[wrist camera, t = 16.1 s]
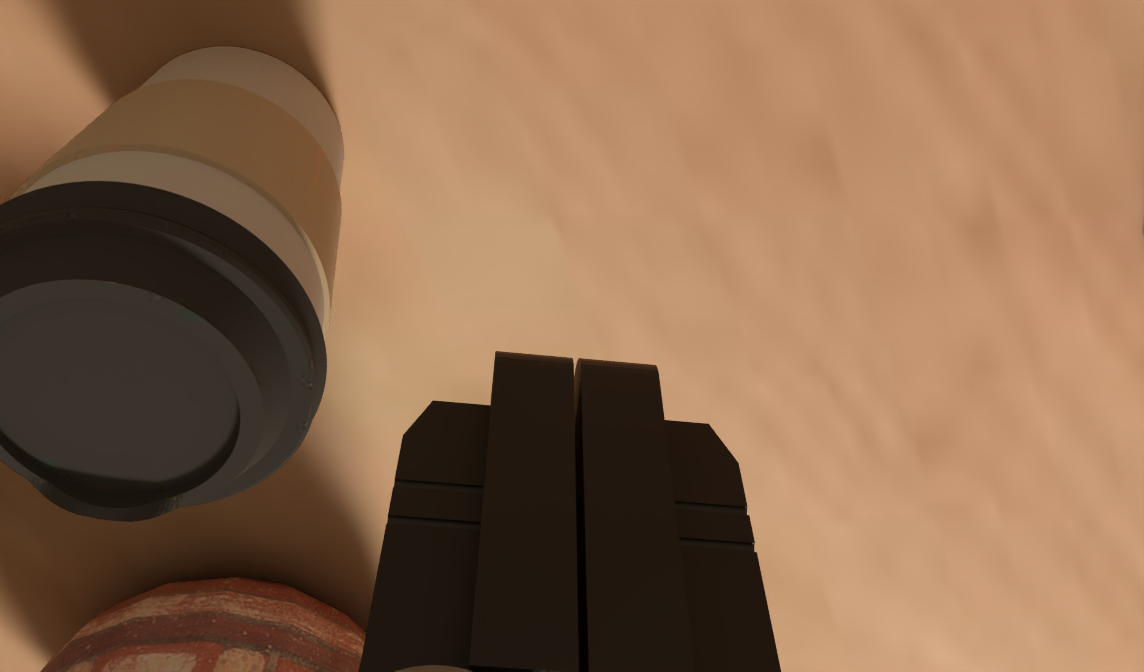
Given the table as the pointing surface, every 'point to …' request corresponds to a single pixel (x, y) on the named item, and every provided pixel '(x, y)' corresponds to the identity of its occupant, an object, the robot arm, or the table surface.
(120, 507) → the coffee cup
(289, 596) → the pottery
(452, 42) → the table surface
